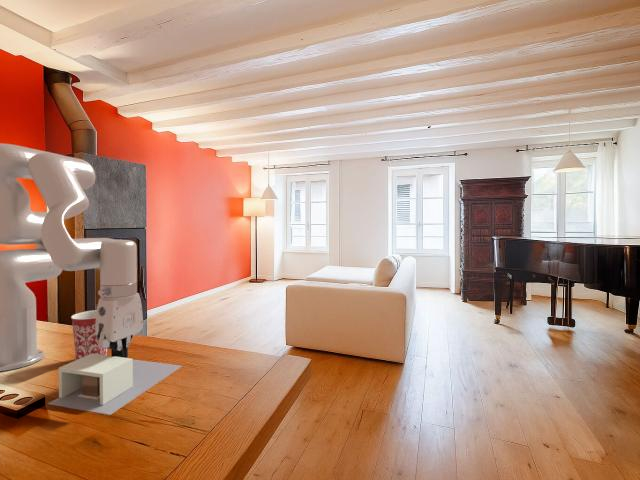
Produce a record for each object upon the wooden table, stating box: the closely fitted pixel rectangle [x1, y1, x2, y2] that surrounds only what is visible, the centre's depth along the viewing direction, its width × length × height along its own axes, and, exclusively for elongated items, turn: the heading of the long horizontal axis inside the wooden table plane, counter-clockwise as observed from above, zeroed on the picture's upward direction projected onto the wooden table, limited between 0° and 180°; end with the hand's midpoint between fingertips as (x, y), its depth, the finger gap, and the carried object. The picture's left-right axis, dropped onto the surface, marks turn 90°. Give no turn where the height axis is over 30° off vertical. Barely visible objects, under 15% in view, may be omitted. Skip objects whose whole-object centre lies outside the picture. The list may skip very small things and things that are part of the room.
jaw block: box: [82, 375, 100, 397], centre depth 72 cm, size 4×4×5 cm
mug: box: [70, 309, 109, 361], centre depth 92 cm, size 13×9×14 cm
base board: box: [47, 359, 183, 416], centre depth 77 cm, size 16×23×3 cm
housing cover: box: [58, 354, 134, 405], centre depth 72 cm, size 12×8×7 cm
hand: (119, 364), depth 78 cm, fingers closed
